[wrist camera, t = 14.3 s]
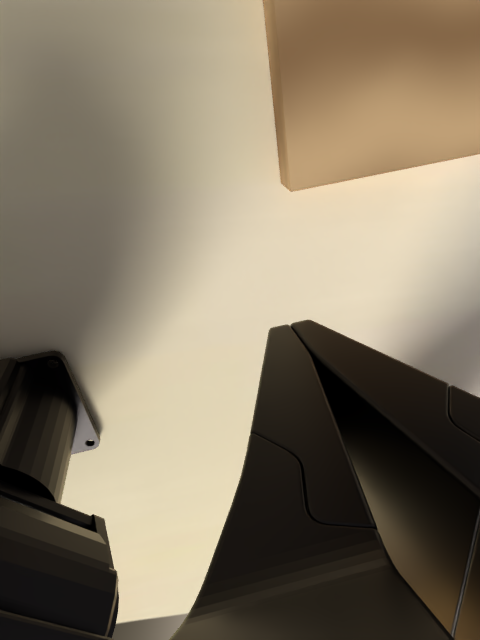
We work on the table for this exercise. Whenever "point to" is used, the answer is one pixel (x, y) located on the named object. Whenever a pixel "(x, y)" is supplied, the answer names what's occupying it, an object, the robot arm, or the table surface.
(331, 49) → the wooden l-shaped stand
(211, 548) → the table surface
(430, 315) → the table surface
